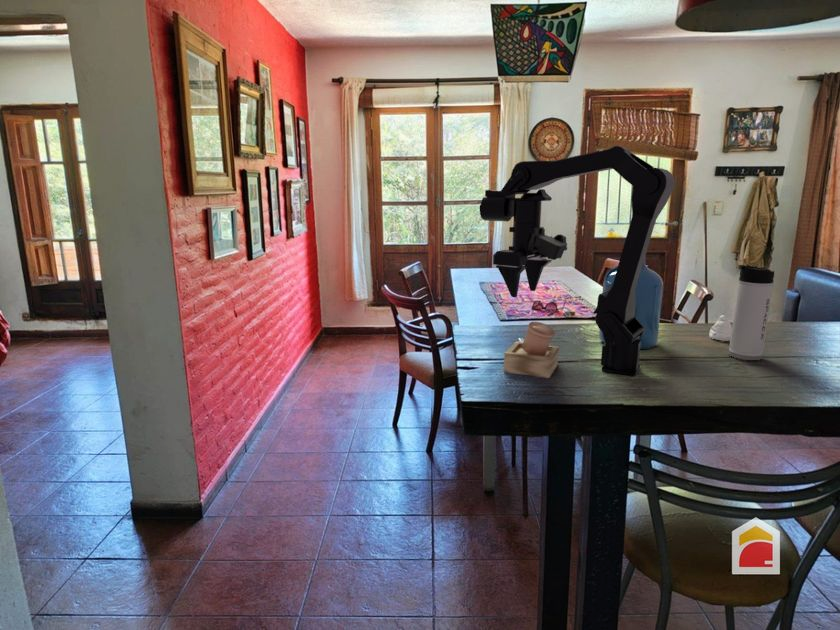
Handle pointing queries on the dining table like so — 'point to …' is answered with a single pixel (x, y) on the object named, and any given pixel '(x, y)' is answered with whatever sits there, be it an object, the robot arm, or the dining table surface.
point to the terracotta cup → (538, 338)
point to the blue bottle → (643, 303)
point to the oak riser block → (530, 361)
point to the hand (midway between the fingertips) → (523, 293)
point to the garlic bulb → (721, 329)
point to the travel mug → (751, 313)
